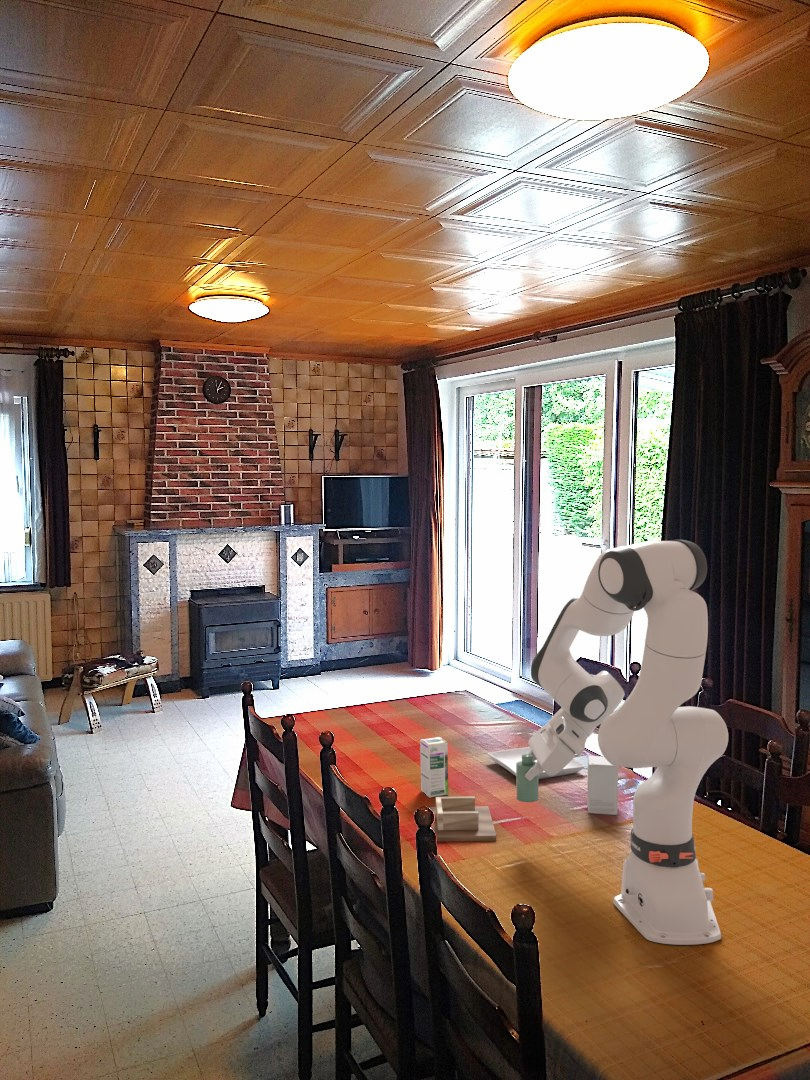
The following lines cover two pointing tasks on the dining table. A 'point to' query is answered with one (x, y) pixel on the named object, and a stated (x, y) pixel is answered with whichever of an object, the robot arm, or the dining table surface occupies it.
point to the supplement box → (602, 786)
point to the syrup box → (434, 766)
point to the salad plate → (515, 755)
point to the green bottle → (526, 780)
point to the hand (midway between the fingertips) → (524, 773)
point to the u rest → (462, 820)
